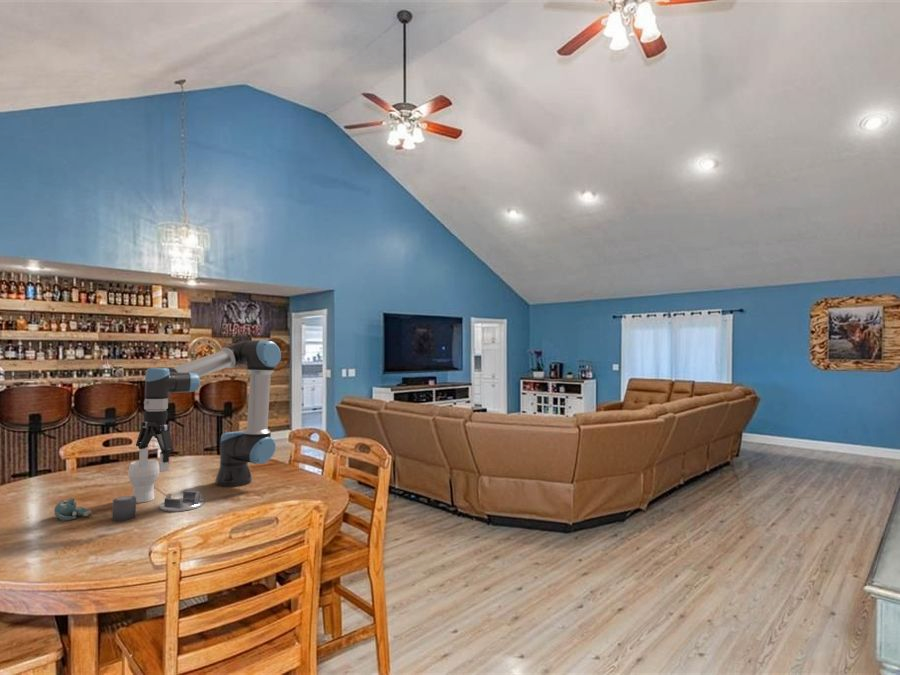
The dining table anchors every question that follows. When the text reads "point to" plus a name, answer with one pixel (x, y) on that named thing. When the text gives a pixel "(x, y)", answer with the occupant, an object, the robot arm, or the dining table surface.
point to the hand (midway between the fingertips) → (153, 469)
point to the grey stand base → (182, 502)
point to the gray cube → (124, 508)
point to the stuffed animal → (69, 510)
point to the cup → (143, 480)
